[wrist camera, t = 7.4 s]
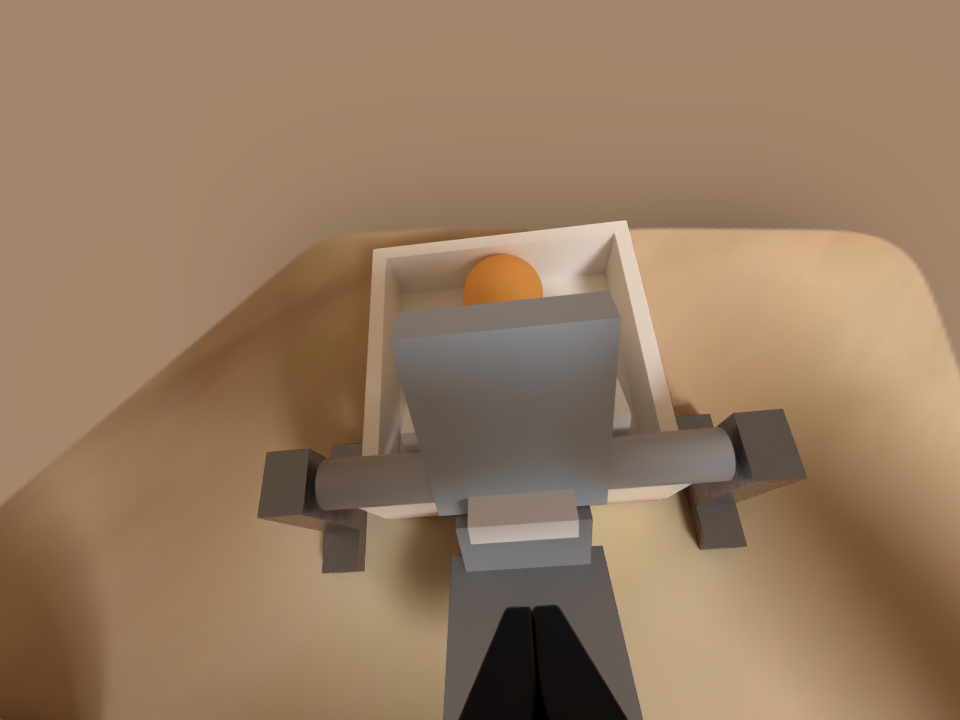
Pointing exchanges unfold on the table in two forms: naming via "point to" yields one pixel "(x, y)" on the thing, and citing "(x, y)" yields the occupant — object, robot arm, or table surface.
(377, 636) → the table surface
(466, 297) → the ball
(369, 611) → the table surface
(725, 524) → the stand
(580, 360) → the lever
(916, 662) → the table surface
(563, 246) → the white storage bin
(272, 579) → the table surface
